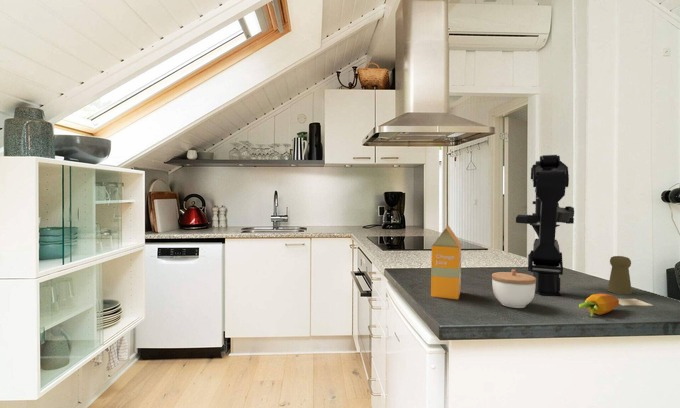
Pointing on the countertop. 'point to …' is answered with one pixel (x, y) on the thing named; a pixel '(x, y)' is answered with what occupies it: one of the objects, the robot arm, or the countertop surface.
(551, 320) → the countertop surface
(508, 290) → the lidded jar
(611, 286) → the cork
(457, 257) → the orange juice
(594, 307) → the carrot
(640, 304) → the beige rectangular sheet
